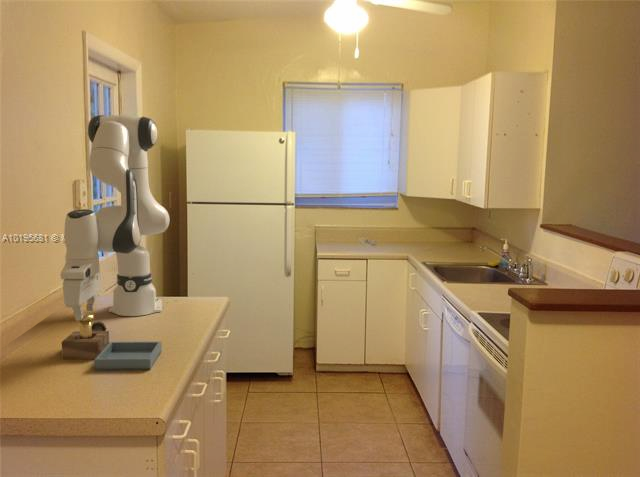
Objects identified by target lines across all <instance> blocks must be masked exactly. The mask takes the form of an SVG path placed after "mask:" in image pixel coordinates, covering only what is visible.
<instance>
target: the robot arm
mask: <svg viewBox="0 0 640 477" xmlns="http://www.w3.org/2000/svg"><path fill="white" fill-rule="evenodd" d="M87 134H88V139H89V141H90V142H91V144H92V145H91V149H90V155H89V162H88V164H89V165H88V167H89V170H90V172H91V174H92V175H93V176H94V178H96V179H97V180H99V181H100V182H101V183H103V184H105V185H107V186H109V187H113V188H115V189H116V190H117V191H118V192H119V193H120V205H109V206H105V207H101V208H99V209H97V211H96V212H95V211H94V210H91V209H88V208H87V209H75V210H71V211H70V212H67V214H66V216H65V221H64V229H63V230H64V231H63V232H64V233H63V234H64V245H65V248H66V252H65V263H64V266H63V268H62V269H61V271H60V279H61V280H63V281H62V291H63V292H62V293H63V301H64V305H65V306H66V307H67V308H72V310H73V313H74V319H75V321H76V320H81V319H82V318H83V313H84V312H83V310H82V308H83V305H84V304H85V303H86V302H87V303H86V305H85V306H86V311H87V312H92V311H93V310H95V302H96V301H95V300H96V295H97V294H98V293H99V292H101V289H102V282H101V273H100V271H101V270H100V254H99V252H104V253H106V252H108V253H115V254H116V255H115V256H116V261H117V274H116V283H117V286H116V287H115V288H114V289H113V290H112V291H113V292H112V294H113V296H112V298H113V299H112V307H110V308H109V309H108V312H109V313H113V314H115V315H117V316H123V317H141V316H146V315H150V314H154V313H160V312H162V311H163V300H162V299H161V298H158V297H157V291H156V290H157V289H156V287H155V285H154V284H153V283H152V282H153V275H152V274H153V273H152V270H151V260H150V258H151V257H150V252H149V251H148V249H146V248H145V247H144V246H142V245H140V242H141V236H153V235H158V234H162V233H165V231H167V230H168V229H169V226H170V219H171V218H170V214H169V212H168V210H167V209H166V208H165V207H164V206H162V205H161V204H160V203H159V202H158V201H157V200H156V198H154V196H153V194H152V192H151V189H150V183H149V162H148V161H149V160H148V150H150V149H152V148H153V147H154V146H155V145H156V143H157V139H158V128H157V125H156V122H155V121H154V120H153V119H152V118H150V117H147V116H135V115H129V114H128V115H127V114H122V115H119V114H118V115H115V114H113V115H104V114H100V115H95V116H93V117H92V118H91V119H90V120H89V122H88V126H87Z"/></svg>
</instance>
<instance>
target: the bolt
mask: <svg viewBox="0 0 640 477" xmlns="http://www.w3.org/2000/svg"><path fill="white" fill-rule="evenodd" d="M91 327H92V331H107V327H106V325H105V323H104V322H103V321H95V322H93V323H92V324H91Z"/></svg>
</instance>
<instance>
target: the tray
mask: <svg viewBox="0 0 640 477" xmlns="http://www.w3.org/2000/svg"><path fill="white" fill-rule="evenodd" d="M162 344H163V343H162V341H109V344H108V345H107V346H106V347H105V349H104V350H103V351H102V352H101V353H100V354H99V355H98V356H97V357H96V358H95V359H94V371H151V370H152V368H153V366H154V365H155V363H156V362H157V360H158V359H159V357H160V355H161V353H162V351H163V350H162Z"/></svg>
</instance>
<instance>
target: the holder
mask: <svg viewBox="0 0 640 477" xmlns="http://www.w3.org/2000/svg"><path fill="white" fill-rule="evenodd" d="M109 343H110V330H106V331H92V339H80V330H74V331H72V332H71V333H70V334H69V335H68V336H67V337H65V338H64V339H63V340H62V341H61V358H62V360H93V359H94V360H95V358H96V357H97V356H98V355H99V354H100V353H101V352H102V351H103V350H104V349H105V347H106V346H107V345H108V344H109Z"/></svg>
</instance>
